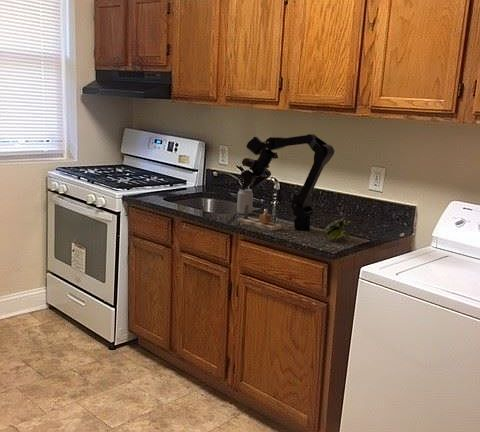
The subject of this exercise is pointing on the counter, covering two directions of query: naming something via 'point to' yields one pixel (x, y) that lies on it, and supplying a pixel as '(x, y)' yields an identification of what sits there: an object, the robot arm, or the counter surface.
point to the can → (244, 200)
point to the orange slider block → (265, 217)
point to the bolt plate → (257, 221)
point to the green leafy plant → (337, 228)
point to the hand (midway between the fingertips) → (248, 188)
